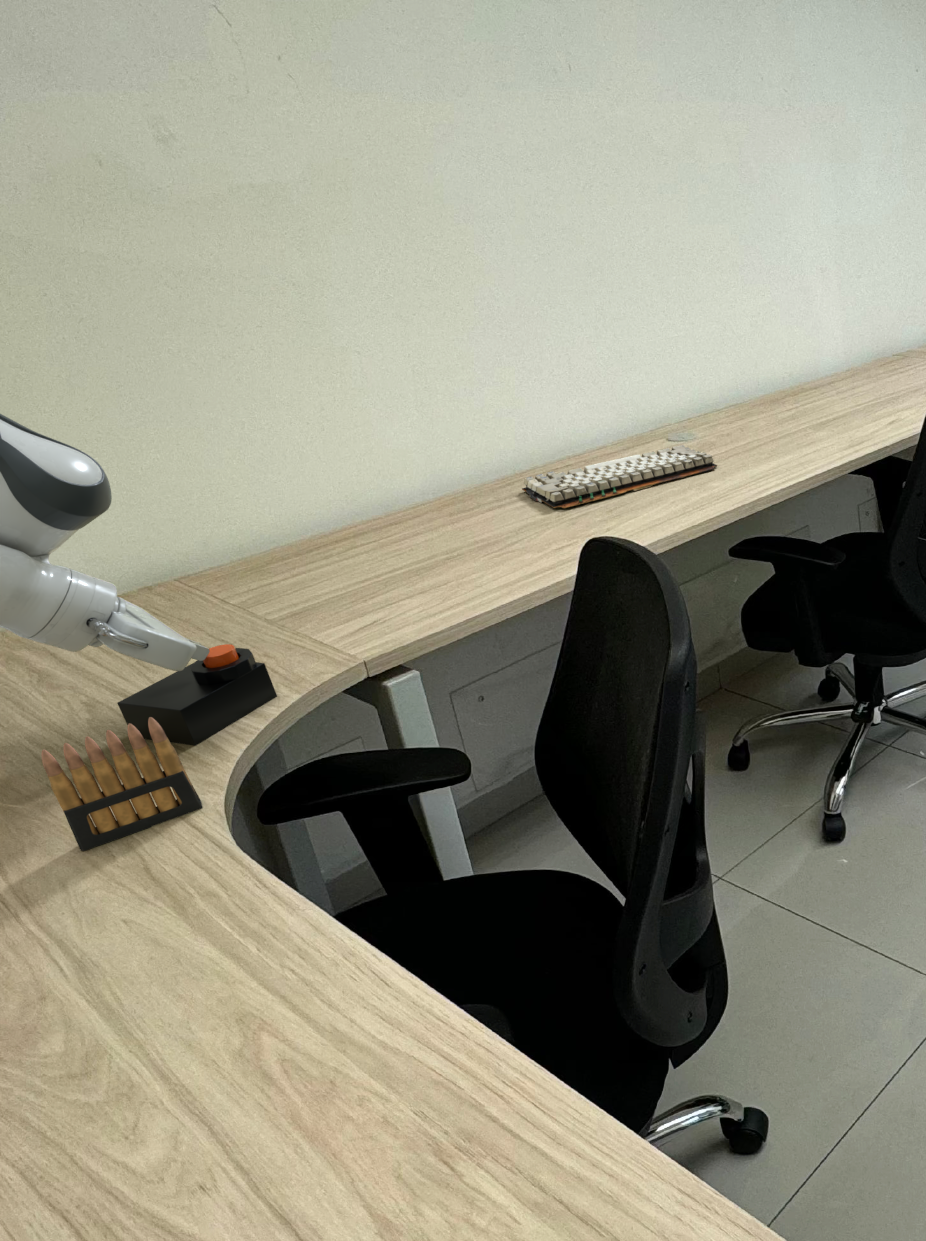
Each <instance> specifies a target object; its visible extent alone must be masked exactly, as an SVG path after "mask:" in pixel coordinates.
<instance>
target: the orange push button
mask: <svg viewBox="0 0 926 1241" xmlns="http://www.w3.org/2000/svg"><path fill="white" fill-rule="evenodd" d="M235 648H236V647H235V646H234V644H230V643H227V644H226V643H225V644H220V645H216V646H211V647H209V648H208V649H209V654H208V655H207V657H206V658H205V660H203V662H204V664H205V667H206V668H215V667H221V666H224V665H228V664H230V663H232V662H234V661H236V660H238V659H239V657H238V654H237V652H236V650H235Z"/></svg>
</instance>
